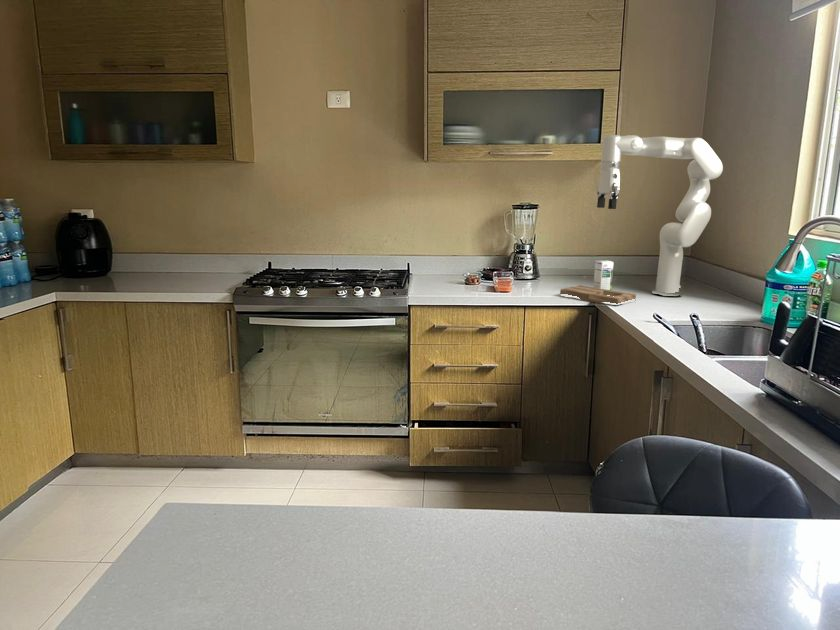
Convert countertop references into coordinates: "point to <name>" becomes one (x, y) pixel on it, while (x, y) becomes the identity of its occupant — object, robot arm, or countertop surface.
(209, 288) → the countertop surface
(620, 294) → the board
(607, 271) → the syrup box
